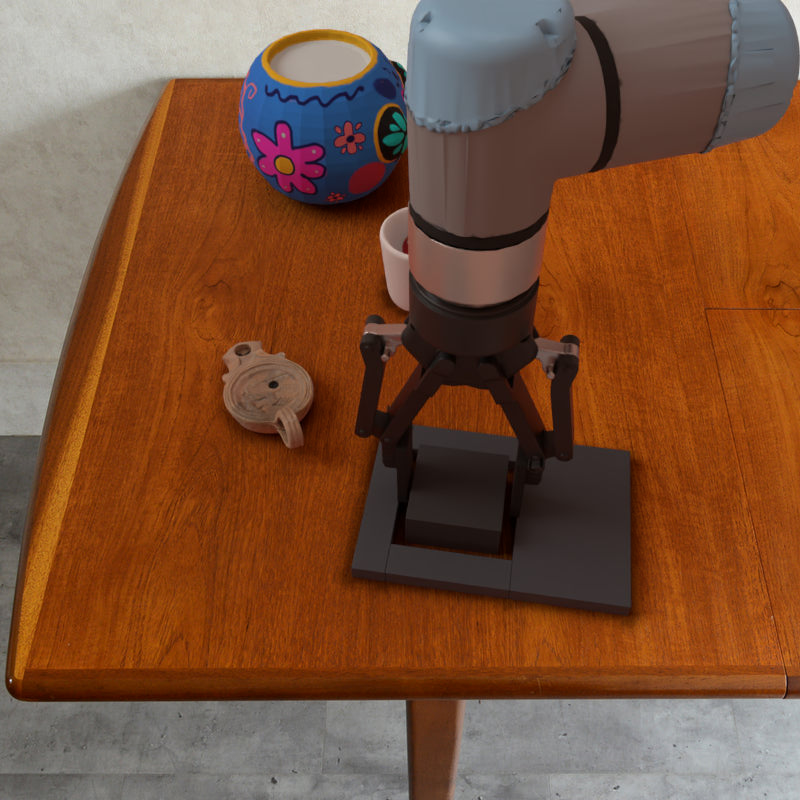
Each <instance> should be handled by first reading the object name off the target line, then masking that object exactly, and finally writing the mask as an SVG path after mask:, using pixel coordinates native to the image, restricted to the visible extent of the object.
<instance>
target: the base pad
mask: <svg viewBox="0 0 800 800" xmlns="http://www.w3.org/2000/svg"><path fill="white" fill-rule="evenodd" d="M412 436H413V459H416V460H417V455H418V449H419V445H420V444H423V445H431V446H439V447H447V448H455V449H462V450H470V451H478V452H486V453H494V454H502V455H509V464H508V471H513V472H514V471H515V464H516V456H517V449H518V442H519V441H518V439H517V437H516V436H509V435H501V434H492V433H485V432H477V431H468V430H459V429H454V428H453V429H451V428H444V427H435V426H429V425H420V424H419V425H418V424H412ZM401 503H402V502H398V497H397V469H396V468H388V467H385V466H384V464H383V462H382V443H381V442H380V441H379V443H378V447H377V452H376V455H375V460H374V465H373V468H372V474H371V478H370V483H369V487H368V491H367V495H366V501H365V505H364V509H363V512H362V513H363V514H362V518H361V523H360V527H359V531H358V535H357V540H356V545H355V549H354V553H353V558H352V563H351V577H352V578H357V579H363V580H365V579H366V580H372V581H378V582H387V583H393V584H400V585H406V586H415V587H421V588H427V589H436V590H442V591H449V592H450V591H451V592H457V593H463V594H464V593H465V594H470V595H478V596H483V597H484V596H485V597H491V598H498V599H499V598H500V599H505V600H506V599H507V600H512V601H520V602H527V603H533V604H534V603H535V604H539V605H540V604H541V605H548V606H555V607H562V608H568V609H575V610H581V611H582V610H583V611H591V612H597V613H605V614H610V615H619V616H625V617H628V616H629V615H630V612H631V609H632V525H631V524H632V521H631V518H632V515H631V513H632V511H631V509H632V508H631V507H632V506H631V503H632V502H631V451H630V450H624V449H616V448H607V447H599V446H592V445H591V446H590V445H584V444H575V443H574V448H573V459H571V460H570V461H566V462H564V461H559V460H558V459H556V457H550V458H548V459H546V460H545V469H544V471H543V473H542V478H541V482H540V483H539V484H538V485H529V484H525V485H524V491H523V497H522V504H521V510H520V517H515V522H514V523H515V524H514V525H515V526H514V534H513V544H512V545H513V546H512V554H511V555H512V556H511V559H505V558H497V557H491V556H483V555H476V554H468V553H461V552H453V551H446V550H440V549H431V548H425V547H417V546H411V545H410V546H409V545H403V544H397V543H396V544H395V543H394V539H395V533H396V528H397V523H398V519H399V514H400V509H401Z"/></svg>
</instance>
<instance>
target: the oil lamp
mask: <svg viewBox="0 0 800 800" xmlns="http://www.w3.org/2000/svg"><path fill="white" fill-rule="evenodd" d="M221 360H222V361H223V362H224V364H225V365H226V367H227V368H228V372H227V373H224V374H223V375H222V376H221V379H222V382H223V383H224V387H223V391H222V398H223V402H224V405H225V408H226V409H227V411H228V412H229V413H230V415H231V416H232V417H233V418H234V419H235V421H237V422H238V424H239V425H240V426H242V427H243V428H245V430H248V431H251V432H254V433H260V434H270V435H271V434H279V435H280V437H281V439H282V441H283V444H284V445H285V446H286V447H287V449H290V450H293V449H295V448H299V447H302V446H304V445H305V443H304V442H305V441H304V434H303V429H302V427H301V423H300V422H302V420H303V419H304V418H305V417H306V415H307V414H308V413H309V411H310V409H311V407H312V404H313V401H314V395H315V394H314V393H315V392H314V390H315V389H314V383H313V380H312V377H311V376H310V374H309V373H308V372H307V370H306V369H305V368H304V367H303V366H302V365H301V364H298V363H296V362H295V361H292V360H290V359H288V358H287V354H286V353H285V352H284V351H279V352H278V353H276V354H270V353H268V352H266V351H265V350H264V349H263V341H262V340H251V341H250V340H248V341H240V342H237V343H235V344H234V345H233V346H231V347H230V348H229V349H228V350H227V352H226V353H225V354H224V355H222V358H221Z"/></svg>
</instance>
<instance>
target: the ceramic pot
mask: <svg viewBox="0 0 800 800" xmlns="http://www.w3.org/2000/svg"><path fill="white" fill-rule="evenodd" d="M245 75H246V76H245V78H244V80H243V82H242V86H241V90H240V96H239V105H238V106H239V107H238V129H239V133H240V136H241V139H242V143H243V146H244V148H245V152H246V154H247V156H248V159H249V161H250V162H251V163H252V165H253V166H254V167H255V169H256V170H257V171H258V172H259V174H261V176H262V177H263V178H264V179H265V180H266V181H267V183H268V184H269V185H270V186H271V187H272V188H273V189H274V190H276V191H277V192H279V193H281V194H282V195H284V196H286V197H288V198H290V199H291V200H293V201H297V202H301V203H304V204H308V205H309V204H310V205H321V206H328V205H337V204H344V203H351V202H353V201H356V200H359V199H362V198H364V197H366V196H368V195H370V194H371V193H372V192H374V191H375V190H377V189H378V188H380V187H381V186H382V185H384V183H385V182H386V181H387V179H388V178H389V177H390V175H391V174H392V172H394V170H395V168H396V166H397V165H398V163H399V161H400V160H401V158H402V157H403V154H404V153H405V151H406V150H408V134H407V105H406V104H405V101H404V89H405V82H406V75H407V69H405V68H404V66H403V64H401V63H400V62H398V61H395V60H391V59H389V58H388V57H387V55H386V54H385V53H384V52H383V50H382V49H381V48H380V47H378V46H377V45H375V43H373V42H372V41H370V40H368V39H367V38H366V37H364V36H361V35H358V34H355V33H352V32H350V31H346V30H339V29H334V28H333V29H332V28H314V29H306V30H300V31H296V32H293V33H290V34H287V35H284V36H282V37H280V38H278V39H276V40H274V41H273V42H271V43H269V44H268V45H267V46H266V47H265V48H264V49H263V50H262V51H260V53H259V54H258V55H257V56H256V57H255V58H254V59H253V62H252V63H251V65H250V66H249V68H248V71H247V73H246V74H245Z"/></svg>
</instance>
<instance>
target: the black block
mask: <svg viewBox="0 0 800 800" xmlns="http://www.w3.org/2000/svg"><path fill="white" fill-rule="evenodd" d="M508 464H509V455H502V454H494V453H486V452H478V451H470V450H462V449H455V448H447V447H439V446H431V445H423V444H420V445H419V449H418V455H417V459H416V460H415V466H414V471H413V476H412V481H411V486H410V492H409V497H408V502H407V508H406V513H405V519H404V520H405V523H404V524H405V525H404V526H405V529H404V531H405V536H404V537H405V543H406V544H414V545H421V546H428V547H436V548H441V549H448V550H449V549H450V550H457V551H464V552H470V553H478V554H485V555H492V556H493V555H494V556H498V555H499V550H500V543H501V536H502V530H503V519H504V509H505V502H506V501H505V500H506V490H507V483H508V474H509V473H508V472H509V470H508Z"/></svg>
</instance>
